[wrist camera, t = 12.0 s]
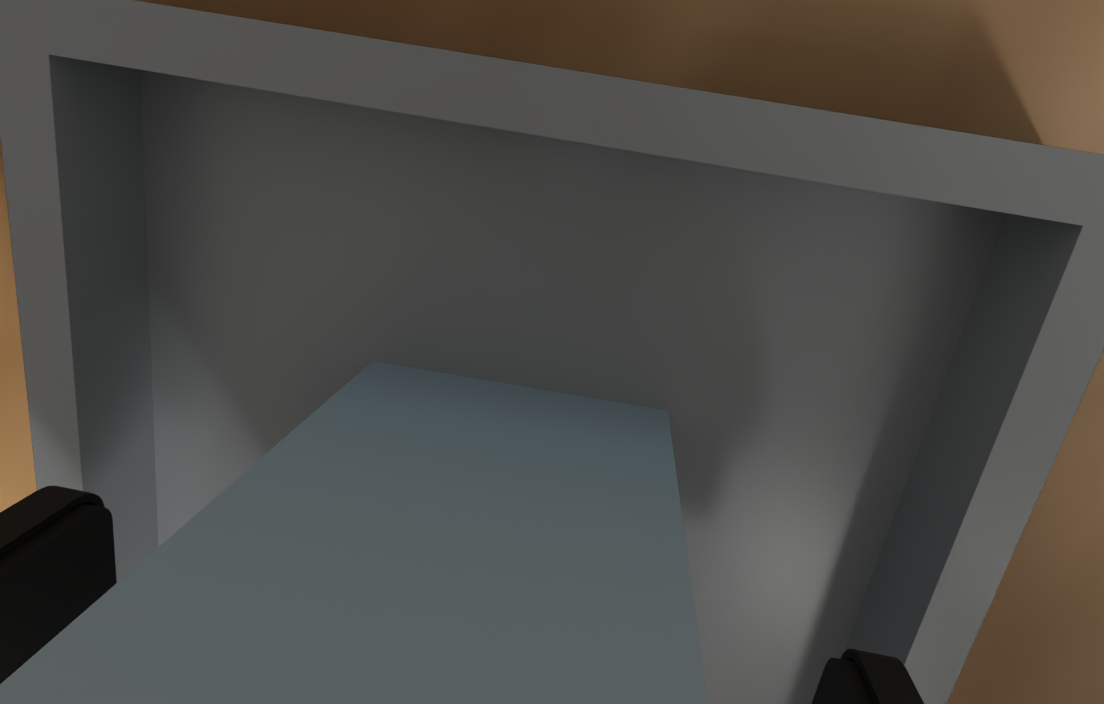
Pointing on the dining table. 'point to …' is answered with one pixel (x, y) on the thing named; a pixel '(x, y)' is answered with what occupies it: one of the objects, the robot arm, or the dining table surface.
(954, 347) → the tray
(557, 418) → the slate block
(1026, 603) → the dining table surface
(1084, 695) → the dining table surface
